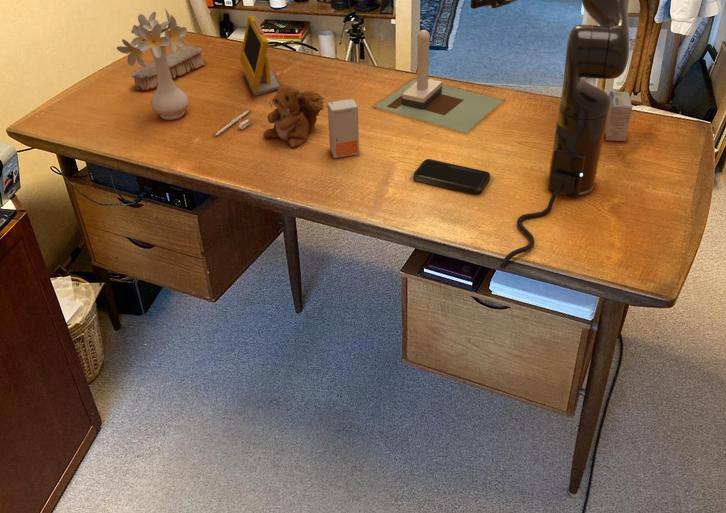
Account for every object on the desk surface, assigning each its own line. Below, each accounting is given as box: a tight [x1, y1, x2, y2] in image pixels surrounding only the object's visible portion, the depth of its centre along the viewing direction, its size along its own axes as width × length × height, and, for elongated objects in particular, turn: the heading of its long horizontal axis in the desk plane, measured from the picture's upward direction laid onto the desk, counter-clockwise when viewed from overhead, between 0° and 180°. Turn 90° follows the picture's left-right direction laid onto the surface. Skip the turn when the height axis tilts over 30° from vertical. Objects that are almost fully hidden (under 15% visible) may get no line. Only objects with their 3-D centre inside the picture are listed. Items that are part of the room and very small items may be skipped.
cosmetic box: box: [326, 98, 360, 159], centre depth 157 cm, size 6×4×12 cm
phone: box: [413, 158, 491, 195], centre depth 150 cm, size 8×1×15 cm
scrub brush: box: [402, 29, 443, 110], centre depth 174 cm, size 11×6×18 cm, turn 150°
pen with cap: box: [214, 109, 251, 137], centre depth 172 cm, size 14×4×2 cm, turn 153°
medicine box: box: [604, 91, 633, 142], centre depth 160 cm, size 8×4×9 cm, turn 169°
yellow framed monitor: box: [239, 14, 280, 97], centre depth 186 cm, size 20×8×16 cm, turn 17°
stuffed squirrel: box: [262, 81, 326, 149], centre depth 164 cm, size 10×14×13 cm
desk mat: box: [373, 77, 504, 134], centre depth 178 cm, size 20×26×1 cm
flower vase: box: [116, 8, 190, 121], centre depth 170 cm, size 13×18×25 cm
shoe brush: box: [131, 45, 205, 91], centre depth 196 cm, size 24×8×5 cm, turn 146°
